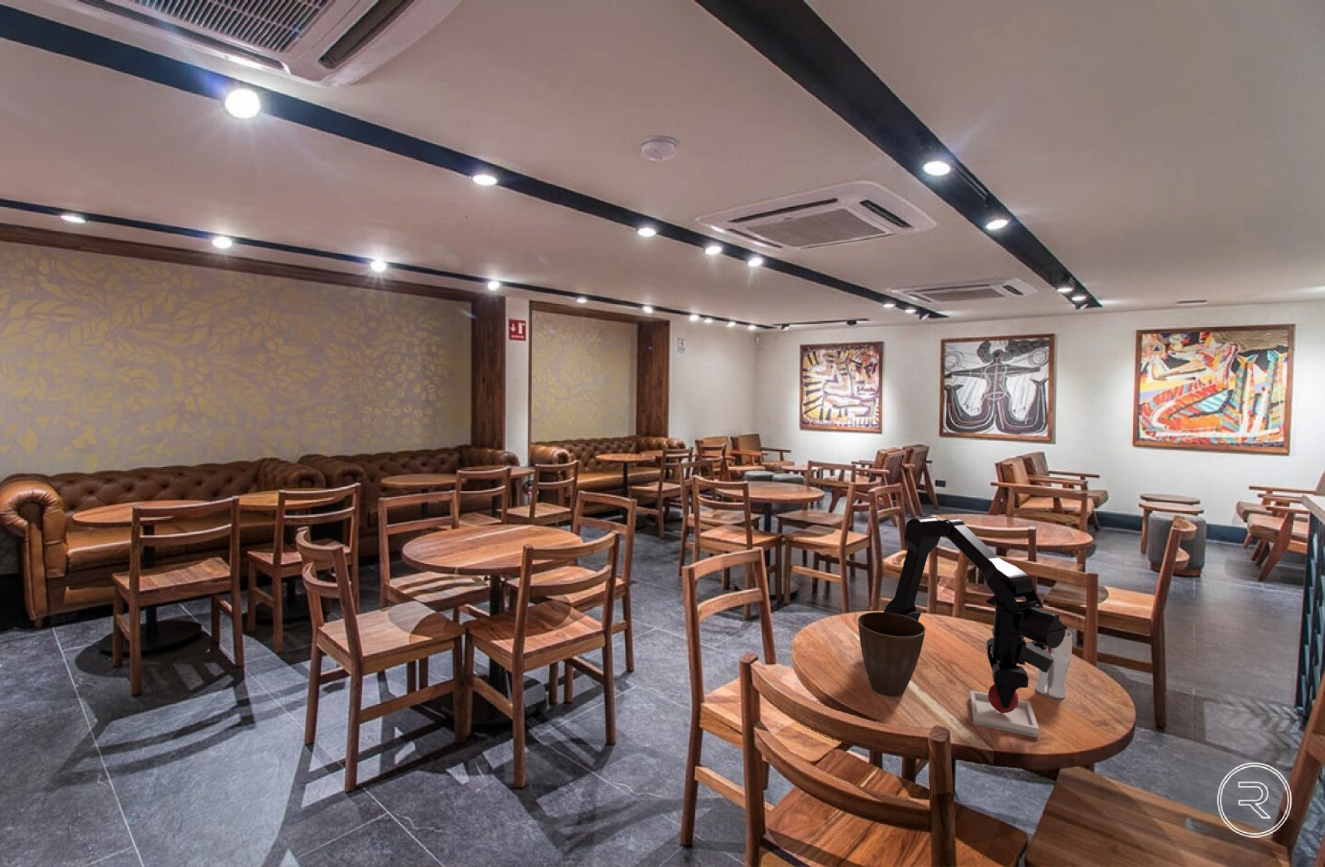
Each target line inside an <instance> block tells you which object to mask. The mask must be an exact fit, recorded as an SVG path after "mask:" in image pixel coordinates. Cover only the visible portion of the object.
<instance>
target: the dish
mask: <svg viewBox="0 0 1325 867" xmlns="http://www.w3.org/2000/svg"><path fill="white" fill-rule="evenodd" d="M969 703H970V710H971V718H972V724H973V725H975V726H981V727H985V728H990V729H995V730H999V731H1005V732H1008V733H1013V734H1018V735H1024V736H1028V737H1032V738H1036V739H1037V738H1038V739H1039V734H1040V733H1039V730H1040V727H1039V726H1038V722H1037V718H1036V716H1035V712H1034V709H1033V707H1032V703H1031V702H1030V701H1027V700H1022V699H1018V705H1017V707H1016V708H1015V709H1014V710H1013V711H1011V712H1008V713H1000V712H999V711H997V710H996V709H995V708H994V707H993V706H992V705H991V703H990V701H989V699H988V693H987V692H981V691H976V690H972V689H971V690H970V691H969Z"/></svg>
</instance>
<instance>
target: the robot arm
mask: <svg viewBox="0 0 1325 867" xmlns="http://www.w3.org/2000/svg"><path fill="white" fill-rule="evenodd" d="M904 530H905V531H904V537H903V538H904V541H905V544H906V548H907V550H906V554H905V558H904V560H903V564H902V568H901V571H900V575H899V578H898V583H897V586H896V591H895V594H894V596H893V598H892V599H891V600H890V601H889V602H888V603H887V604H886V605H885V607H884V610H883V612H887V613H894V614H899V615H903V616H907V617H910V618H912V619H915V620H917V621H919V619H920V617H921V616H922V613H921V611H920V610H918V609H917V606H916V604H915V602H916V599H917V595H918V591H919V588H920V585H921V581H922V577H923V574H924V570H925V568H926V567H925V566H926V565H927V564H926V563H927V559H928V556H929V554H930V553H931V552H932V550H933V549H934V548H936V546H937V545H938V544H939V542H940V541H941V537H946V538H947V539H948V540H949V541H951V543H952V544H953V545H954V546H955V547H956V548H957V549H958V550H959V551H960V552H961V553H962V554H963V555H964V556H965V557H966V558H967V559H968V560H969V561H970V562H971V563H972V564H973V565H974V566H975V567H976V568H977V569H978V570H979V571H980V572H981V573H982V575H983V577H984V582H985V584H986V585H987V586H988V588H989V590H990V591H991V592H992V594H993V595H992V596H991V597H990V598H987V599H986V600H985V602H986V604H988V605H991V606H994V619H993V627H992V628H991V633H992V637H991V638H989V639H987V640H986V646H985V647H986V653H987V658H988V661H989V662H988V663H989V665H990V668H991V670H992V673H991V675H992V681H993V685H994V684H995V687H996V689H997V692H998V695H999V698H1000V701H1001V704H1002V707H1003V708H1007V709H1008V708H1009V706H1010V703H1011V701H1012V698H1013V696H1014V694H1015V691H1016V692H1017V690H1018V689H1023V688H1024V689H1027V688H1029V679H1030V678H1029V676H1028V673H1027V671H1026V670H1025V668H1023V667H1022V666H1026V663H1027V664H1028V665H1031V666H1032V667H1034V668H1037V669H1038V670H1039V669H1040V670H1041V671H1042V672H1045V673H1047V672H1048V670H1049V668H1050V667H1051V665H1052V663H1053V661H1054V659H1053V657H1052V655H1051V654H1050V653H1049V652H1048V650H1045V647H1044V645H1045V646H1048V647H1050V648H1057V647H1058V646H1059V645H1060V644H1061V643H1062V641H1063V639H1064V636H1065V630H1066V629H1065V626H1064V624H1063V622H1062V621H1061V620H1060V614H1058V613H1056V612H1053V611H1051V612H1050V611H1047V610H1044V609H1043V608H1044V605H1043V603H1042V601H1041V599H1040V598H1039V595H1038V593H1037V591H1036V590H1035V588H1034V585H1033V581H1032V578H1031V577H1030V576H1029V575H1028V573H1026V572H1025V571H1023V570H1021V569H1020V568H1018V567H1017V566H1016V565H1013V564H1011V563H1009V562H1007V561H1005V560H1003V559H1001V558H1000V557H999V556H997V554H996V553H994V552H993V551H992V549H990V548H989V547H988V545H986V544H985V543H984V542H983V541H982V540H981V539H980V538H979V536H976V534H975V533H974V532H972V530H970V529H969V528H968V526H966V523H965V522H964V521H963V520H962V519H959V518H950V519H949V518H948V519H942V520H939V519H937V518H936V517H933V516H927V517H916V518H911V519H909V520H908V521H906V524H905V528H904ZM1021 599H1025V600H1022V601H1017V600H1021ZM1025 638H1026V639H1028V640H1030V641H1026V640H1025ZM1017 664H1018V665H1017ZM1019 665H1020V666H1019ZM1021 665H1022V666H1021Z"/></svg>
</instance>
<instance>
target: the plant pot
mask: <svg viewBox="0 0 1325 867" xmlns="http://www.w3.org/2000/svg"><path fill="white" fill-rule="evenodd" d="M857 625H858V626H857V627H858V635H859V643H860V648H861V656H862V658H863V663H864V667H865V672H866V676H867V678H868V681H869V684H870V687H871V689H872V690H873V691H874V692H875V693H877V694H880V695H883V696H886V697H900V696H902V695H903V694H904V693H905V691H906V689H907V688H908V686H909V684H910V681H911V679H912V678H913V674H914V672H915V670H916V667H917V666H918V665H917V664H918V661H919V658H920V656H921V651H922V649H923V648H922V647H923V644H924V639H925V635H926V627H925V626H924V624H923V623H921V621H919V620H918V621H917V620H915V619H912V618H910V617H907V616H903V615H899V614H894V613H887V612H884V611H873V612H866V613H863V614H861V615H860V616H858V618H857Z"/></svg>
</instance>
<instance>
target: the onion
mask: <svg viewBox="0 0 1325 867" xmlns="http://www.w3.org/2000/svg"><path fill="white" fill-rule="evenodd" d="M987 694H988V699H989V701H990V703H991V705H992V706H993V707H994V708H995V709H996V710H997V711H999V712H1000V713H1008V712H1011V711H1013V710H1014V709H1015V708H1016V707H1017V705H1018V700H1019V695H1018V693H1017V690H1016V691H1015V694H1014V696H1013V698H1012V701H1011V703H1010V706H1009V708H1008V709H1007V708H1003V707H1002V704H1001V701H1000V698H999V695H998V692H997V689H996V687H995V684H994V683H993V684H992V685H991V686H990V687H989V689H988V693H987Z"/></svg>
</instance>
